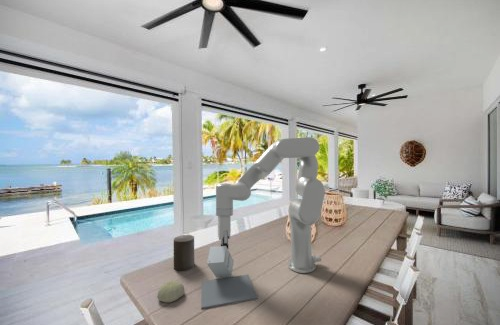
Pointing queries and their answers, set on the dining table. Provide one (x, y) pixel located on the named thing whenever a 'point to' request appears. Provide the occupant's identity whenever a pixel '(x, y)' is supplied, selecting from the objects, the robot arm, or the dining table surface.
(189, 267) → the pillar candle
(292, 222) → the robot arm
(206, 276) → the dining table surface
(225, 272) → the supplement box
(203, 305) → the charcoal mat
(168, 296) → the sea urchin shell
